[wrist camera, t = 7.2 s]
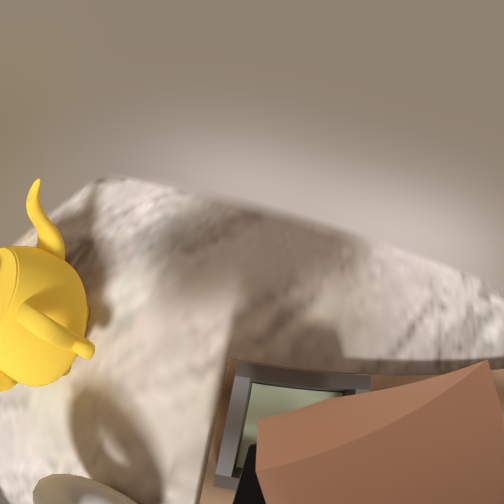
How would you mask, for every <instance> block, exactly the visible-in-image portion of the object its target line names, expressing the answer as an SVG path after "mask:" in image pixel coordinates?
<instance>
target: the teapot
mask: <svg viewBox="0 0 504 504" xmlns="http://www.w3.org/2000/svg"><path fill="white" fill-rule="evenodd" d="M39 189H40V178H38V179H37V180H36V181H35V182H34V184H33V185H32V187H31V189H30V191H29V194H28V198H27V203H26V207H27V212H28V216H29V218H30V220H31V221H32V223H33V224H34V226H35V227H36V230H37V233H38V245H37V248H36V247H29V246H7V247H1V248H0V392H3V391H7V390H9V389H11V388H12V387H13V386H15V385H16V384H17V383H18V382H19V383H22V384H25V385H28V386H32V387H39V386H45V385H48V384H50V383H53V382H54V381H56V380H58V379H59V378H60V377H61V376H64V375H67V374H68V373H69V371H70V369H71V365H72V363H73V362H74V360H75V358H76V357H77V355H80V356H82V357H83V358H85V359H87V360H89V359H90V358H91V357H92V356H93V355H94V352H95V346H94V345H93V343H91V342H90V341H89V340H87V339H86V338H84V335H85V331H86V324H87V320H88V319H89V316H90V309H89V307H88V305H87V298H86V293H85V290H84V287H83V284H82V281H81V279H80V277H79V275H78V274H77V272H76V271H75V269H74V268H73V267H72V266H71V265H70V264H68V263H67V262H66V261H65V247H64V242H63V239H62V236H61V234H60V233H59V231H58V229H57V228H56V227H55V225H54V224H53V223H52V222H51V221H50V219H49V218H48V217H47V216H46V214H45V213H44V211H43V209H42V207H41V204H40V199H39Z"/></svg>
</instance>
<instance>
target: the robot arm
mask: <svg viewBox="0 0 504 504" xmlns="http://www.w3.org/2000/svg"><path fill="white" fill-rule="evenodd" d="M256 450H257V443H254V444H250V445H249V446H248V449H247V453H246V457H245V461H244V464H243V468H242V472H241V475H240V479H239V483H238V486H237V490H236V493H235V497H234V500H233V503H232V504H266V502H265V499H264V496H263V493H262V490H261V487H260V484H259V481H258V478H257V474H256Z"/></svg>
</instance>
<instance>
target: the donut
mask: <svg viewBox="0 0 504 504" xmlns="http://www.w3.org/2000/svg"><path fill="white" fill-rule="evenodd" d="M33 503H34V504H138V503H136V502H135V501H133V500H132V499H130V498H129V497H127V496H126V495H124V494H122V493H120V492H118V491H117V490H115V489H113V488H111V487H109V486H106V485H104V484H102V483H99V482H97V481H94V480H91V479H88V478H85V477H82V476H77V475H71V474H52V475H50V476H47V477H45V478H43V479H41V480H39V482H38V484H37V485H36V487H35V489H34V491H33Z"/></svg>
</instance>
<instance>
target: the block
mask: <svg viewBox="0 0 504 504" xmlns="http://www.w3.org/2000/svg"><path fill="white" fill-rule="evenodd" d="M256 474H257V478H258V481H259V484H260V487H261V490H262V493H263V496H264V499H265V502H266V504H504V422H503V416H502V411H501V407H500V402H499V398H498V394H497V390H496V386H495V382H494V378H493V375H492V371H491V368H490V365H489V361H488V359H487V360H485V361H482V362H479V363H477V364H474V365H471V366H468V367H465V368H462V369H459V370H456V371H453V372H450V373H447V374H444V375H440V376H437V377H433V378H430V379H426V380H422V381H419V382H415V383H411V384H406V385H402V386H398V387H393V388H388V389H384V390H378V391H373V392H368V393H362V394H356V395H349V396H342V397H335V398H328V399H325V400H323V401H320V402H317V403H314V404H311V405H308V406H305V407H302V408H298V409H295V410H292V411H288V412H285V413H282V414H278V415H274V416H271V417H267V418H263V419H259V420H258V428H257V450H256Z"/></svg>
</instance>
